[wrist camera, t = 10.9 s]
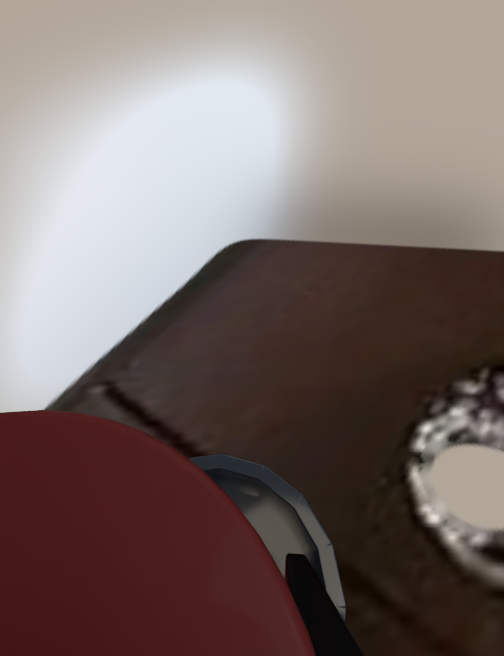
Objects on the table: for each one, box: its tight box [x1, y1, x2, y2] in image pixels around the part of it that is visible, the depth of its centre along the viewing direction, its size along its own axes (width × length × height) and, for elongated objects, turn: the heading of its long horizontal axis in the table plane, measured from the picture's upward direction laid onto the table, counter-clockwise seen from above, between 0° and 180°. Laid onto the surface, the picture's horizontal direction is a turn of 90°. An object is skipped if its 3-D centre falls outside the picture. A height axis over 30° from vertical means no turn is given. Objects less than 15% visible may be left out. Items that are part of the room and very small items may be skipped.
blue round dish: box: [188, 454, 346, 622], centre depth 15 cm, size 11×11×4 cm
